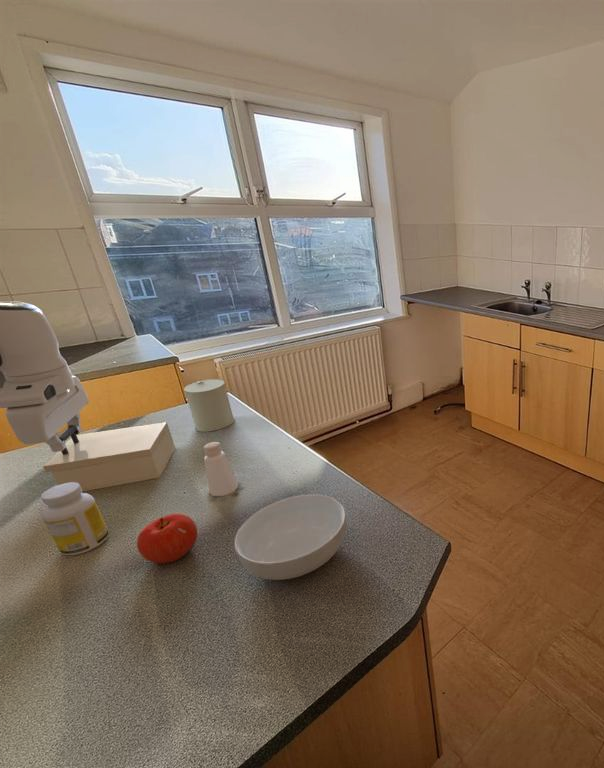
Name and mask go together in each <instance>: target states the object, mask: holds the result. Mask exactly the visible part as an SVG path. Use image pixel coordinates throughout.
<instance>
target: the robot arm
mask: <svg viewBox="0 0 604 768" xmlns="http://www.w3.org/2000/svg"><path fill="white" fill-rule="evenodd" d="M0 372H1V373H2V374H3V376H4V379H5V381H4V382H3V387H2V389H1V391H0V409H6V410H5V416H6V419H7V422H8V424H9V426H10V428H11V429H12V431H13V433H14V435H15V437H16V438H17V440H18V441H19V442H20V443H22V444H24V445H35V444H41V443H45V444H46V445H48V446H49V447H50V449H51V452H53V453H57V452H59V451H63V450H64V449H65V448H66V441H64V440H60V439H59V437H58V436H59V434H60V433H59V431H60V430H62V429H63V428H64V427H65V426H66V425H67V427H68V426H69V425H74V426H76V428H77V430H76V431H75V433H76V435H80V433H82V431H83V428H82V426H81V414H80V412H81V411H82V410H83V409H84V408H85V407H86V406H87V405H88V404H89V396H88V393H87V392H86V390H85V387H84V385H83V384H82V381H81V380H80V379H79V377H78V376H76V375H73V372H72V371H71V369H70V367H69V365H68V363H67V361H66V359H65V357H63V356H62V354H61V352H60V343H59V340H58V338H57V336H56V332H55V331H54V329H53V327H52V325H51V324H50V322H49V320H48V318H47V317H46V315H45V314H44V312H43V310H41V309H40V308H39V307H38V306H36V305H34V304H32V303H27V302H23V301H16V300H15V301H14V300H0Z"/></svg>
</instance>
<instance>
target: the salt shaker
mask: <svg viewBox="0 0 604 768" xmlns="http://www.w3.org/2000/svg"><path fill="white" fill-rule="evenodd" d="M203 450H204V452H205V456H204V457H203V461H204V468H205V474H206V480H207V486H208V492H209V493H210V495H211V496H212V497H225V496H227V495H229V494H233V493H234V492H235V491H236V490H237V488H239V487H240V485H239V482H238V481H237V478H236V475H235V473H234V471H233V469H232V466H231V464H230V462H229V459H228V457H227V454H226V453H225V451H223V450H222V448H221V443H220V442H218V441H212V442H208V443H206V444H205V445H204V446H203Z"/></svg>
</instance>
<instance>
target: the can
mask: <svg viewBox="0 0 604 768" xmlns="http://www.w3.org/2000/svg"><path fill="white" fill-rule="evenodd" d="M183 391H184V395H185V397H186V401H187V403H188V407H189V409H190V414H191V417H192V420H193V424H194V429H195V430H196V431H198V432H202V433H203V432H204V433H205V432H214V431H218V430H222V429H225V428H227V427H229V426H231V425H232V424H234V422H235V417H234V414H233V410H232V408H231V403H230V400H229V395H228V392H227V391H228V390H227V388H226V382H225V380H223V379H219V378H209V379H203V380H198V381H195V382H192V383H189V384H187V385H186V386H184V387H183Z"/></svg>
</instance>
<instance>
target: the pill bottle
mask: <svg viewBox="0 0 604 768" xmlns="http://www.w3.org/2000/svg"><path fill="white" fill-rule="evenodd" d="M40 498H41V501H42V503H43V504H44V505H45V507H44V508H43V510H42V512H41V517H42V519H43V521H44V524H45V525H46V528H47V529H48V531H49V533H50V535H51V537H52V539H53V541H54V543H55V544H56V547H57V548H58V550H59V552H60V553H61V554H62V555H65V556H75V555H81V554H84V553H87V552H89V551H91V550H94V549H96V548H98V547H99V546H100V545H101V544H103V543H105V541H106V540H107V539H108V537H109V534H110V533H109V529H108V526H107V524H106V522H105V520H104V517H103V515H102V512H101V511H100V508H99V506H98V504H97V503H96V500H95V498H94V497H93V495H91V494H89V493H86V492H82V489H81V487H80V485H79V484H78V483H75V482H70V483H64V484H60V485H57V484H56V485H55V486H52V487H50V488H48V489H47V490H45V491H44V492H43V493H42V494H41V496H40Z"/></svg>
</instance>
